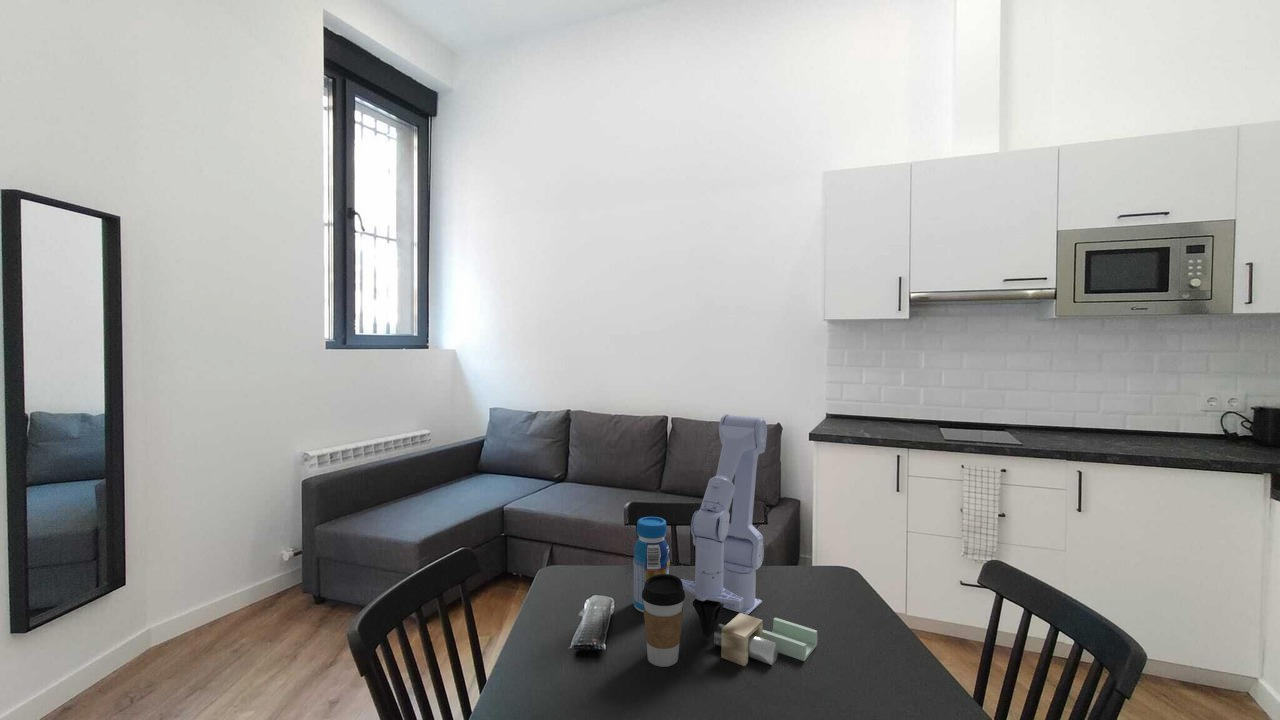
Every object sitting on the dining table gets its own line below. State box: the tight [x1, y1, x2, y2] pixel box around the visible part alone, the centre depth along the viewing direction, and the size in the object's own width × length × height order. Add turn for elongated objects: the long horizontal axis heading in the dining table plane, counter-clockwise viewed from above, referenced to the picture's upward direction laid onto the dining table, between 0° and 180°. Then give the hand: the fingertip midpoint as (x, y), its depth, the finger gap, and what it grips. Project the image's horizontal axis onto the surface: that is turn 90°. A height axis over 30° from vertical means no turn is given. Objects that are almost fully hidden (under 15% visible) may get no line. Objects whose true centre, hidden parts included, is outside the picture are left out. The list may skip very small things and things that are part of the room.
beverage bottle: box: [632, 516, 671, 613], centre depth 132 cm, size 8×8×20 cm
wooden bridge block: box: [720, 612, 764, 667], centre depth 113 cm, size 5×8×6 cm, turn 144°
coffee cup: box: [642, 573, 686, 668], centre depth 111 cm, size 8×8×15 cm
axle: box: [713, 623, 779, 666], centre depth 113 cm, size 12×4×4 cm, turn 54°
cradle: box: [763, 617, 818, 662], centre depth 116 cm, size 9×7×3 cm
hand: (708, 633), depth 117 cm, fingers closed
